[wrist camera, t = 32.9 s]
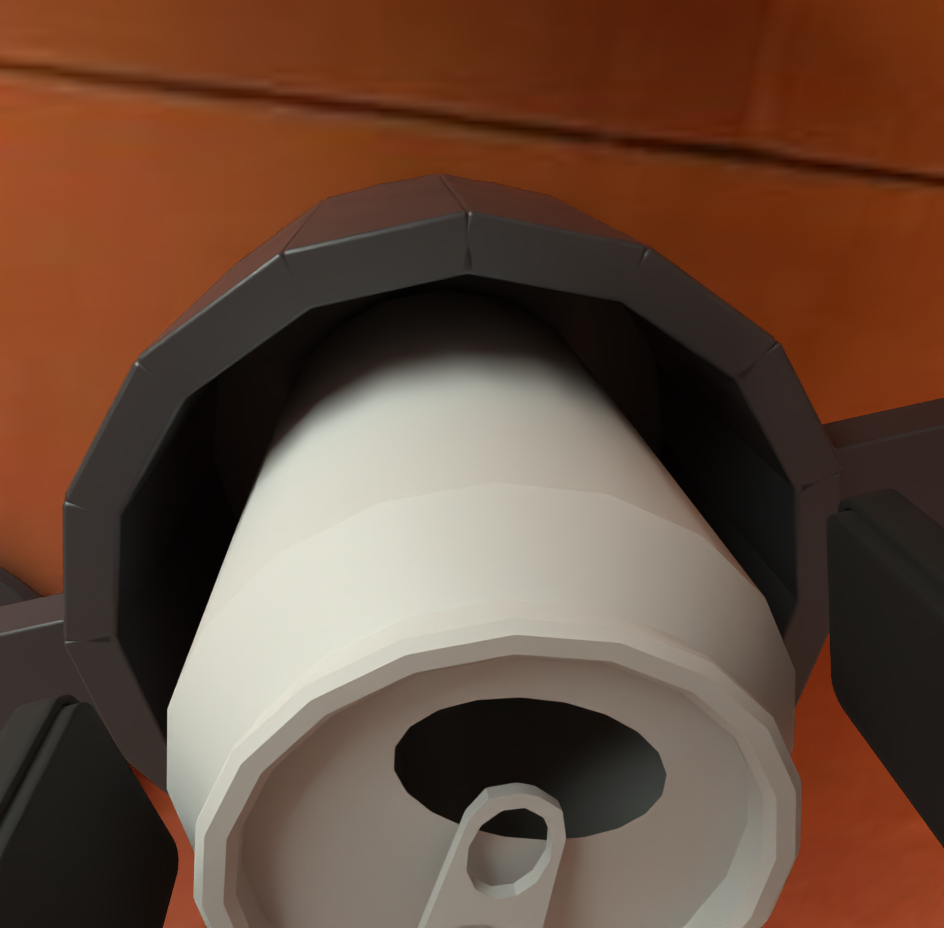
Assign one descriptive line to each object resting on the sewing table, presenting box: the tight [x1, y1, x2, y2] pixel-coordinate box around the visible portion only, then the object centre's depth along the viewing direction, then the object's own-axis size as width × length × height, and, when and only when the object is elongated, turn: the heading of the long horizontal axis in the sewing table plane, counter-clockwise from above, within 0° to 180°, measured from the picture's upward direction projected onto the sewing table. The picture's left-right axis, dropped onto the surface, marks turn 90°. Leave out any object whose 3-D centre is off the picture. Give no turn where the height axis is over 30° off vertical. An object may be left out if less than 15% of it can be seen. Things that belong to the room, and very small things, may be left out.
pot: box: [0, 174, 944, 795], centre depth 16 cm, size 12×18×7 cm
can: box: [167, 290, 802, 928], centre depth 13 cm, size 8×8×12 cm
